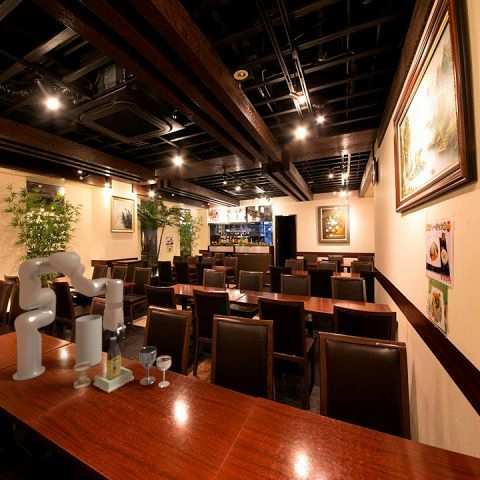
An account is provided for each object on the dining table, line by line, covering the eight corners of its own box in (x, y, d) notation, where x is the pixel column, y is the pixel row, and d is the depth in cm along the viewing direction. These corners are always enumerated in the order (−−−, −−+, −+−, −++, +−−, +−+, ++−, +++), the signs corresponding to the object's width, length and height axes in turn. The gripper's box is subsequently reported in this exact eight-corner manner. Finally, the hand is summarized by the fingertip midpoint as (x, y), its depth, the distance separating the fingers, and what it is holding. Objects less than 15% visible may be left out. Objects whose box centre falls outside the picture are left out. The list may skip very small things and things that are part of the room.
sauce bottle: (114, 384, 117) (114, 341, 117) (103, 382, 118) (103, 340, 118) (123, 376, 123) (123, 336, 123) (112, 375, 124) (112, 335, 125)
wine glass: (135, 383, 119) (135, 351, 119) (147, 375, 127) (147, 345, 127) (148, 386, 116) (148, 354, 116) (159, 378, 124) (159, 347, 124)
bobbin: (70, 385, 117) (70, 366, 117) (86, 378, 123) (86, 360, 123) (78, 390, 114) (78, 370, 114) (93, 382, 120) (94, 364, 120)
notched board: (93, 384, 118) (93, 376, 118) (119, 372, 129) (119, 364, 129) (108, 392, 112) (108, 383, 112) (134, 379, 123) (134, 370, 123)
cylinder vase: (103, 356, 147) (103, 314, 148) (99, 366, 135) (99, 320, 136) (79, 359, 143) (79, 316, 144) (72, 370, 132) (72, 322, 132)
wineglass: (167, 389, 115) (167, 362, 115) (153, 387, 116) (153, 361, 116) (173, 381, 121) (173, 356, 121) (160, 379, 123) (161, 354, 123)
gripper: (96, 304, 122) (95, 339, 122) (117, 309, 113) (116, 347, 113) (111, 301, 128) (110, 334, 128) (132, 306, 120) (131, 342, 119)
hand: (113, 340), depth 121 cm, fingers open, 9 cm apart
